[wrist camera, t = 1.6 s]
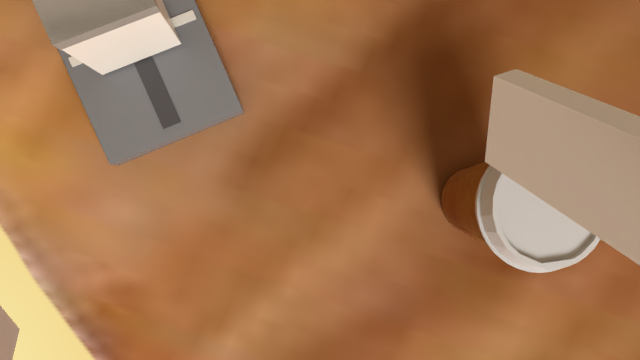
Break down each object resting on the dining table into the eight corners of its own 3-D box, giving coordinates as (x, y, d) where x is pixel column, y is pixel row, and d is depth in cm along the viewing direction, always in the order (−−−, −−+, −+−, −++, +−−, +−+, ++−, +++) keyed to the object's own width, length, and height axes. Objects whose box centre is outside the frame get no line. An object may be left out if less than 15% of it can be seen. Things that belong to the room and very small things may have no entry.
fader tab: (182, 44, 37) (156, 5, 29) (101, 75, 36) (52, 45, 28) (162, -1, 36) (130, -52, 28) (81, 30, 36) (25, -14, 28)
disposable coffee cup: (409, 226, 41) (464, 244, 29) (447, 135, 41) (517, 115, 29) (497, 264, 42) (585, 297, 30) (533, 174, 42) (635, 171, 30)
